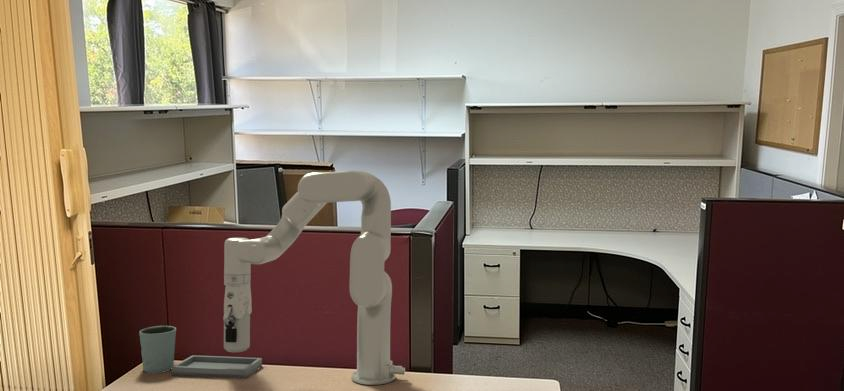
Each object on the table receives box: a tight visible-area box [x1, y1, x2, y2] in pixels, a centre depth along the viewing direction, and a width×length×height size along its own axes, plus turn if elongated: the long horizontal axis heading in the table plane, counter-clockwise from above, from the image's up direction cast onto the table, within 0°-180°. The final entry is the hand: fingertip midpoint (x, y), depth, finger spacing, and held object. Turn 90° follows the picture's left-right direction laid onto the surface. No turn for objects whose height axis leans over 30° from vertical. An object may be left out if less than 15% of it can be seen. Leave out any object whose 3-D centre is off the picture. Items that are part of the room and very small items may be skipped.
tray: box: [171, 355, 263, 380], centre depth 185 cm, size 22×12×2 cm, turn 83°
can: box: [223, 310, 251, 353], centre depth 184 cm, size 8×8×12 cm
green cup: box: [138, 325, 177, 374], centre depth 186 cm, size 10×10×12 cm
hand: (236, 338), depth 184 cm, fingers closed on can, 7 cm apart
